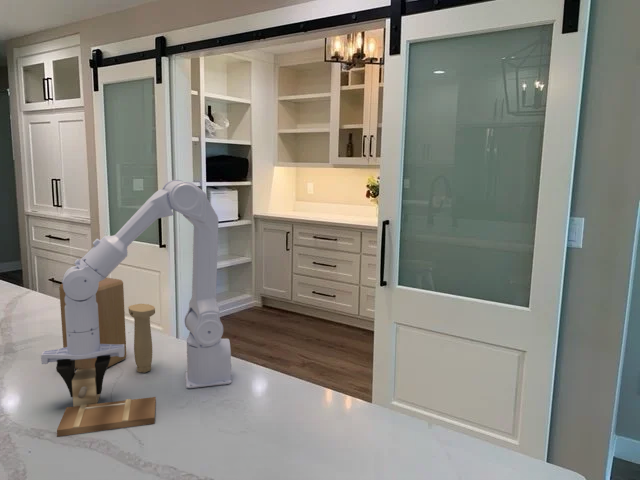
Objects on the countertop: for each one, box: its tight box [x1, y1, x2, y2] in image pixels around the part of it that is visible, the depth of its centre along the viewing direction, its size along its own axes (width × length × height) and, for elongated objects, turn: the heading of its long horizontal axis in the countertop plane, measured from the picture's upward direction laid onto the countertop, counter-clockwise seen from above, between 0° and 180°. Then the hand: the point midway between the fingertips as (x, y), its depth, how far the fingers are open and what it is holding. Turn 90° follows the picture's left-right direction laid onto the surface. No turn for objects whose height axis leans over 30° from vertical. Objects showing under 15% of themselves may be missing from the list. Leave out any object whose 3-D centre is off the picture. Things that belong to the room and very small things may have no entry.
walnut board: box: [56, 396, 157, 437], centre depth 88 cm, size 16×8×1 cm, turn 107°
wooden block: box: [58, 277, 127, 370], centre depth 110 cm, size 10×10×20 cm
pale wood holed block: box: [72, 368, 101, 407], centre depth 92 cm, size 4×8×6 cm, turn 17°
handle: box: [127, 303, 156, 374], centre depth 107 cm, size 5×6×15 cm
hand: (86, 393), depth 93 cm, fingers closed on pale wood holed block, 4 cm apart
